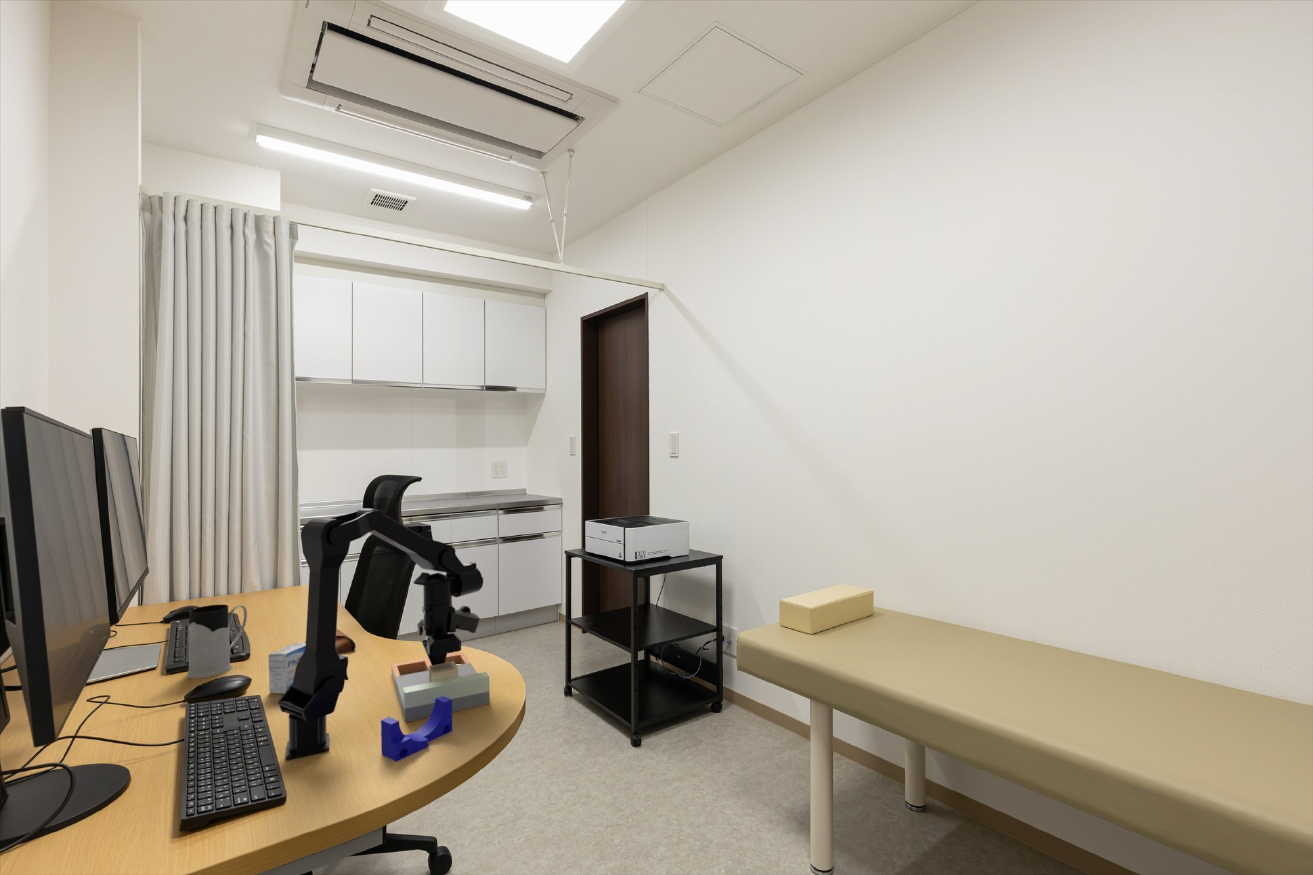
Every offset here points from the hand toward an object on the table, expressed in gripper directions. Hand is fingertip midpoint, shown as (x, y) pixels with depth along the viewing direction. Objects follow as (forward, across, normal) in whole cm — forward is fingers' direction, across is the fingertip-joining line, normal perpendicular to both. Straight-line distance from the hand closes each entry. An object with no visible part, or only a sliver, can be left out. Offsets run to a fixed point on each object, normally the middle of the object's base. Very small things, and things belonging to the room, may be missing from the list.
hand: (438, 675), depth 129 cm
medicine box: (+4, +20, +28) cm, 35 cm away
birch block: (+1, -4, 0) cm, 4 cm away
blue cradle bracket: (+4, -22, +7) cm, 24 cm away
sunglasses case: (+4, +48, +20) cm, 52 cm away
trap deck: (+4, +2, 0) cm, 4 cm away
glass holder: (+4, +44, +44) cm, 62 cm away
